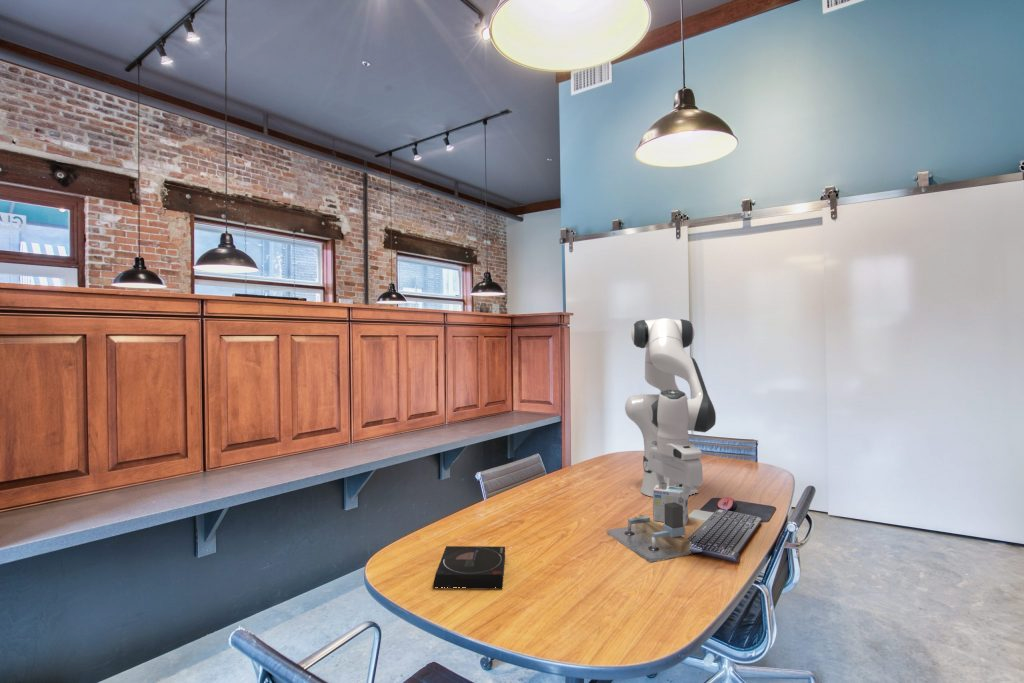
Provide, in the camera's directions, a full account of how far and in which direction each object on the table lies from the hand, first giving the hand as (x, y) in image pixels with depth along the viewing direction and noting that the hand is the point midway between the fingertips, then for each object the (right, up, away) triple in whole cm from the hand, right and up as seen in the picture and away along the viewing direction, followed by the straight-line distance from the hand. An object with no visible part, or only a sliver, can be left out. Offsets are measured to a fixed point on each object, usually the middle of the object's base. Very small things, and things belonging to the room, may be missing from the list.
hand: (673, 493), depth 143 cm
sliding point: (-2, -15, -1) cm, 15 cm away
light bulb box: (+6, -16, +22) cm, 28 cm away
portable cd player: (-58, -17, -15) cm, 62 cm away
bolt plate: (-5, -16, +4) cm, 17 cm away
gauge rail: (-5, -15, +4) cm, 16 cm away
